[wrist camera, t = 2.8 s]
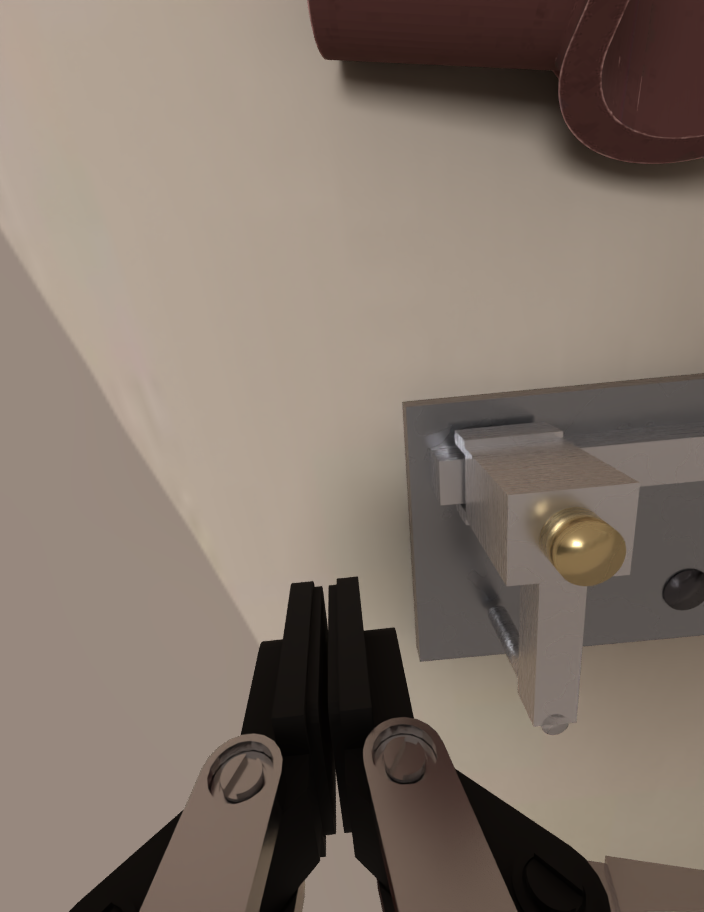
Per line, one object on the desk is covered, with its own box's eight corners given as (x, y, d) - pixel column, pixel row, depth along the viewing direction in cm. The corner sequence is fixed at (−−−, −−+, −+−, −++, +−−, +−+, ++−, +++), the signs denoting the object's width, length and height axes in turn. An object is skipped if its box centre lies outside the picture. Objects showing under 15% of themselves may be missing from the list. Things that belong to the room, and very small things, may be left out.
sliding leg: (544, 420, 20) (669, 488, 12) (536, 618, 23) (631, 767, 16) (453, 429, 20) (523, 502, 12) (458, 625, 23) (516, 778, 16)
